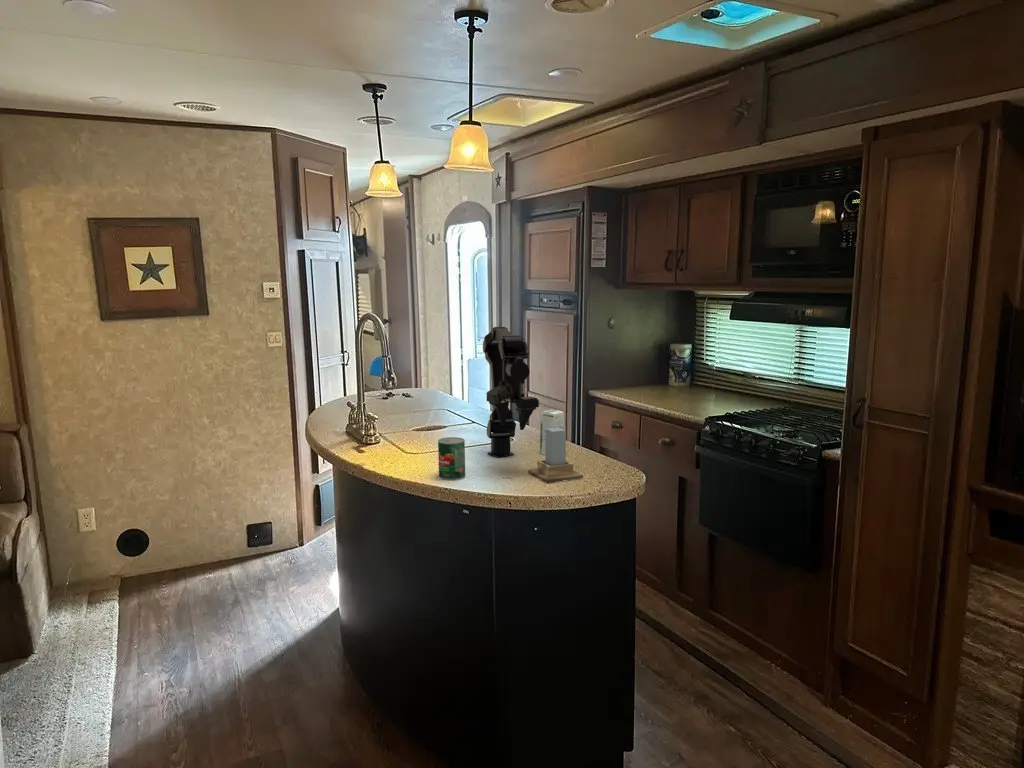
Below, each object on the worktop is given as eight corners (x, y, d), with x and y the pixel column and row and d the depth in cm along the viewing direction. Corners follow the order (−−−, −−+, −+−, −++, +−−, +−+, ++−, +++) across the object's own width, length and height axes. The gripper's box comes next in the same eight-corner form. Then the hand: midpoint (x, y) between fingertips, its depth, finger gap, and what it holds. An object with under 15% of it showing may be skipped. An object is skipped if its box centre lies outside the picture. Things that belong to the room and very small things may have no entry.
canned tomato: (468, 473, 206) (468, 438, 204) (460, 481, 198) (459, 443, 196) (444, 472, 208) (443, 436, 206) (434, 479, 200) (433, 442, 198)
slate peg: (545, 471, 204) (545, 428, 202) (558, 469, 206) (558, 427, 204) (552, 475, 200) (552, 431, 198) (565, 473, 202) (565, 430, 200)
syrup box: (549, 450, 233) (550, 409, 231) (564, 453, 230) (564, 411, 227) (539, 454, 229) (539, 411, 227) (554, 456, 225) (554, 413, 223)
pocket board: (528, 472, 206) (528, 460, 206) (563, 468, 211) (563, 455, 211) (546, 483, 195) (546, 469, 195) (582, 478, 200) (583, 465, 200)
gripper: (472, 375, 209) (472, 426, 211) (511, 382, 194) (511, 436, 197) (500, 372, 216) (501, 421, 218) (540, 379, 201) (540, 431, 204)
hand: (512, 427), depth 209 cm, fingers open, 9 cm apart
